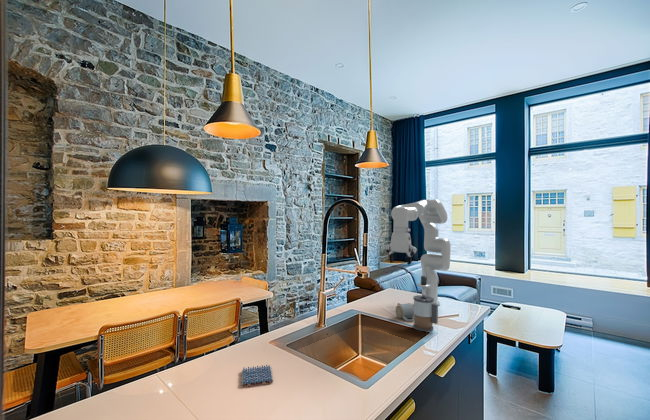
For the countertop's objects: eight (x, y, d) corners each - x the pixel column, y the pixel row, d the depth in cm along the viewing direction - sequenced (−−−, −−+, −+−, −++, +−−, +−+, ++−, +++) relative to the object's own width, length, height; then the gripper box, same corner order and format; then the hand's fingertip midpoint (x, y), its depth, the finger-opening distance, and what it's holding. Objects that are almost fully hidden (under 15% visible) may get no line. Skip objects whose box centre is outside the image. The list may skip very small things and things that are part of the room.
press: (417, 322, 154) (418, 294, 154) (440, 328, 147) (440, 298, 147) (410, 328, 146) (410, 298, 147) (433, 334, 139) (433, 302, 139)
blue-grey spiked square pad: (241, 390, 94) (241, 383, 94) (241, 372, 104) (241, 367, 104) (274, 385, 97) (274, 379, 97) (271, 369, 107) (271, 363, 107)
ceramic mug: (394, 316, 164) (394, 302, 164) (407, 314, 166) (407, 301, 166) (404, 323, 154) (405, 308, 154) (418, 321, 156) (418, 307, 156)
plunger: (420, 299, 152) (420, 274, 152) (431, 302, 148) (431, 276, 148) (415, 302, 147) (415, 276, 147) (427, 304, 143) (427, 278, 143)
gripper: (419, 231, 151) (419, 264, 151) (388, 229, 162) (388, 260, 162) (414, 231, 145) (413, 266, 145) (382, 230, 156) (382, 262, 156)
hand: (400, 263), depth 154 cm, fingers open, 9 cm apart
